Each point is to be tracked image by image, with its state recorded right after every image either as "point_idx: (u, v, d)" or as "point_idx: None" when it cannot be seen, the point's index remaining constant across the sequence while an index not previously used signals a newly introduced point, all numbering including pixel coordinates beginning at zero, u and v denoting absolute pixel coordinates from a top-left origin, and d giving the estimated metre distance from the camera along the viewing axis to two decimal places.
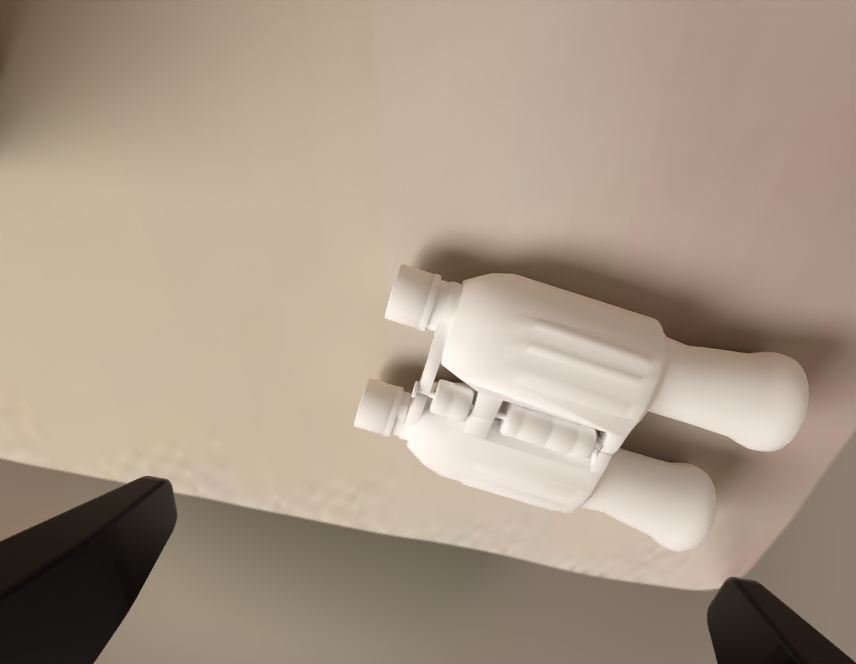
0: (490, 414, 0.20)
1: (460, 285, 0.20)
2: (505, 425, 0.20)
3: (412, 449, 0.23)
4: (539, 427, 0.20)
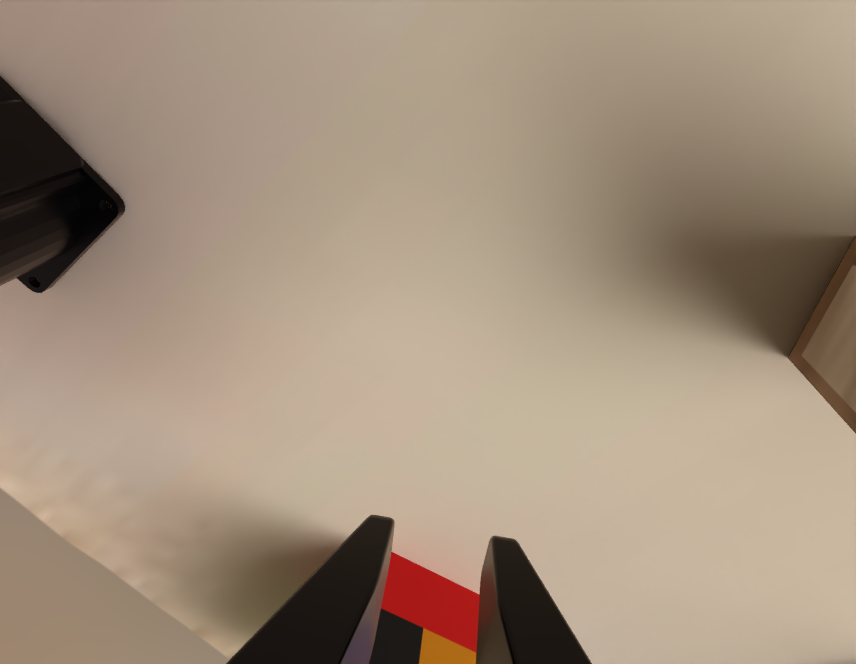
0: None
1: None
2: None
3: None
4: None
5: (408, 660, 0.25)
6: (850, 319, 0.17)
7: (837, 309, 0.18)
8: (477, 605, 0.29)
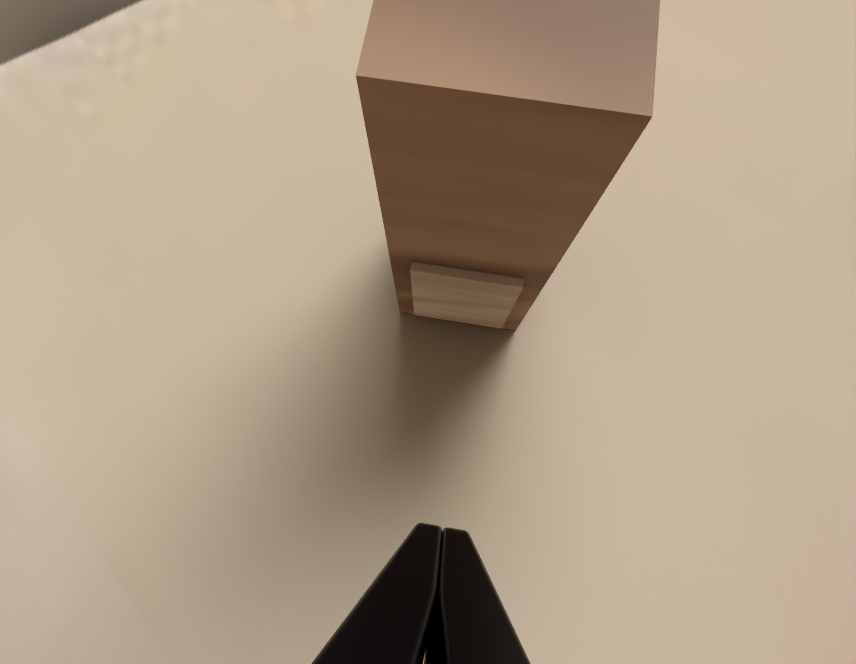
0: None
1: None
2: None
3: None
4: None
5: None
6: (450, 312, 0.20)
7: (450, 317, 0.21)
8: None
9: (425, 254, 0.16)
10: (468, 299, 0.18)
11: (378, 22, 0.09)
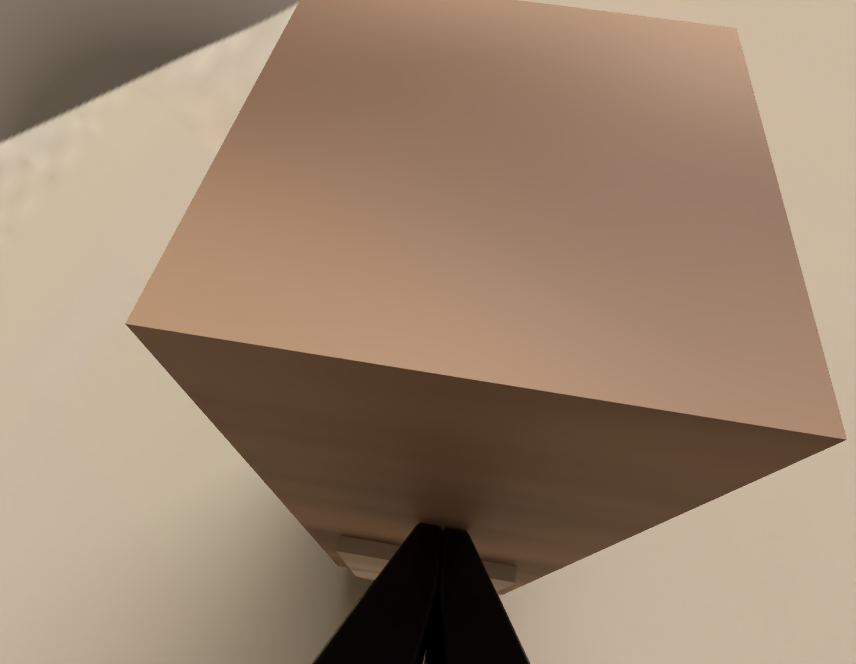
0: None
1: None
2: None
3: None
4: None
5: None
6: None
7: None
8: None
9: (358, 531, 0.10)
10: None
11: (208, 210, 0.04)
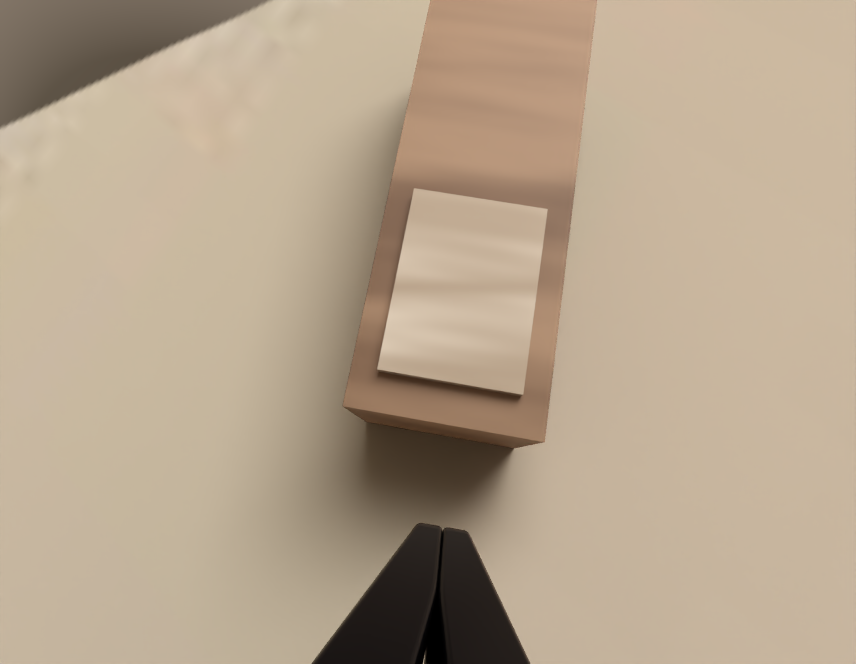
0: None
1: None
2: None
3: None
4: None
5: None
6: (443, 333, 0.13)
7: (439, 363, 0.13)
8: None
9: (435, 171, 0.14)
10: (477, 268, 0.13)
11: None
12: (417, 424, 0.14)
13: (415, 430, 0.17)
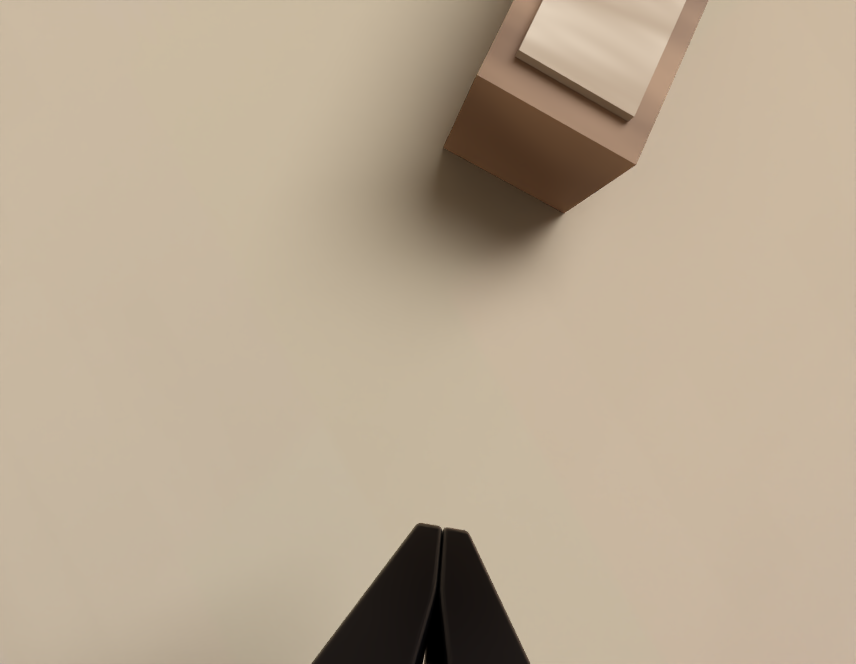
0: None
1: None
2: None
3: None
4: None
5: None
6: (583, 41, 0.14)
7: (572, 64, 0.14)
8: None
9: None
10: None
11: None
12: (515, 136, 0.16)
13: None
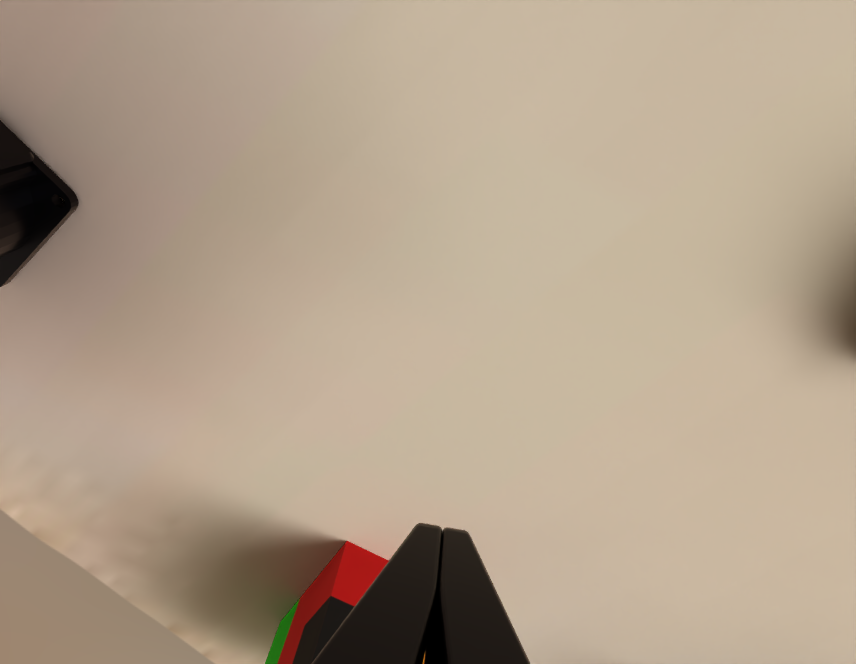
0: None
1: None
2: None
3: None
4: None
5: None
6: None
7: None
8: None
9: None
10: None
11: None
12: None
13: None
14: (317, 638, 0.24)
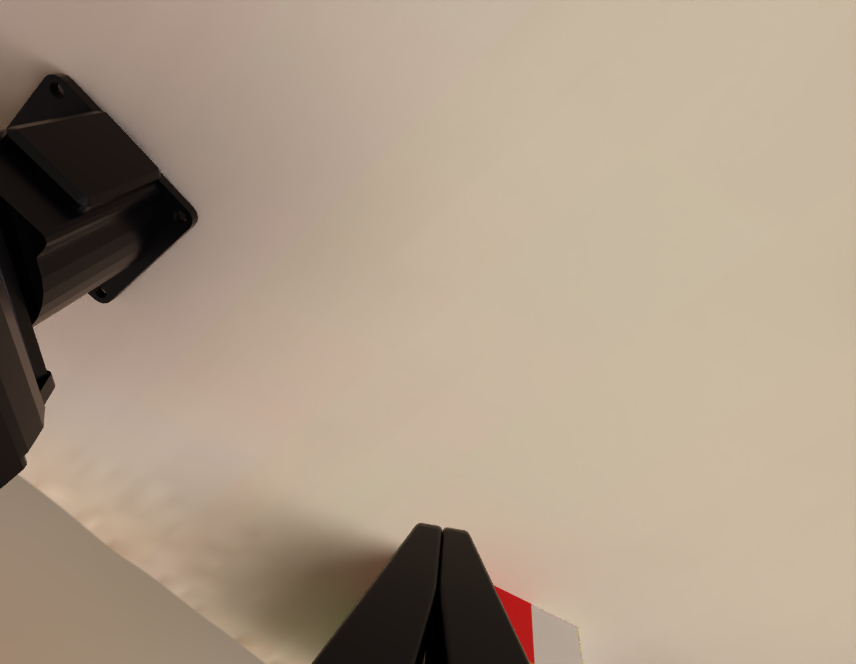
0: None
1: None
2: None
3: None
4: None
5: None
6: None
7: None
8: (529, 614, 0.29)
9: None
10: None
11: None
12: None
13: None
14: None
